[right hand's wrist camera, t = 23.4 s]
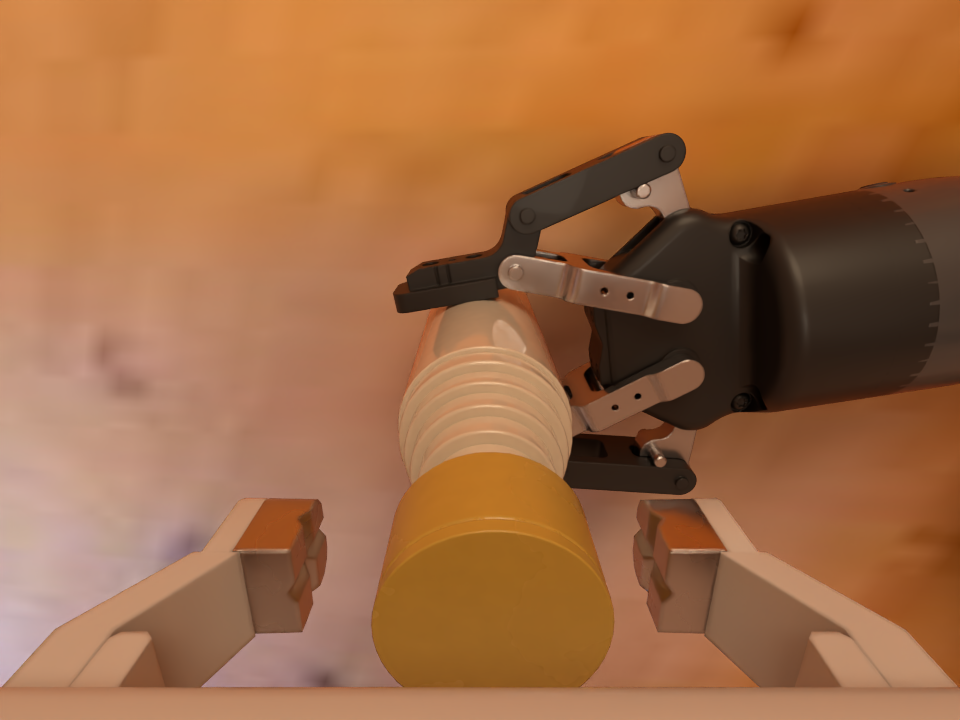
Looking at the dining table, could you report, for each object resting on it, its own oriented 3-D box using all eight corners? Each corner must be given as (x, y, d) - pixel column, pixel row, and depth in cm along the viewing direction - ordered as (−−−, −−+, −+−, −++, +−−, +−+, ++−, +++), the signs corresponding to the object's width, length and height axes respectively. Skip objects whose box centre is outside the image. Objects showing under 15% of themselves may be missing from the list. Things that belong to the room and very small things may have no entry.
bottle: (533, 352, 27) (637, 684, 10) (439, 363, 27) (377, 708, 10) (524, 257, 25) (631, 455, 8) (425, 270, 26) (319, 489, 8)
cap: (574, 612, 11) (598, 720, 9) (392, 606, 11) (373, 713, 9) (597, 454, 10) (631, 535, 8) (392, 445, 10) (368, 526, 8)
